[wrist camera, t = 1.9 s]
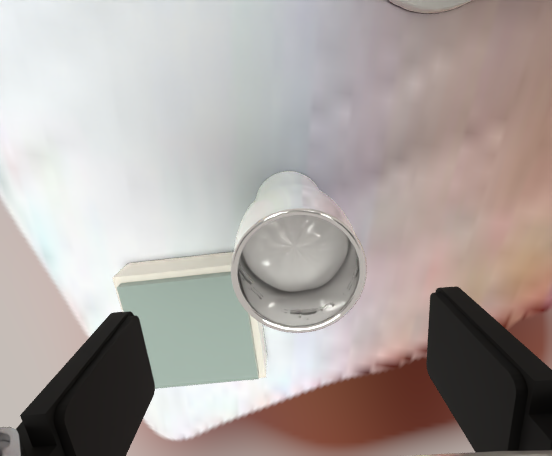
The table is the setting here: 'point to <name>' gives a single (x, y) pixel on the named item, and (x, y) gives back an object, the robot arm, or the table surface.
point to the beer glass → (296, 257)
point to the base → (192, 320)
